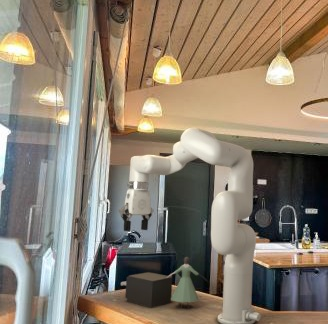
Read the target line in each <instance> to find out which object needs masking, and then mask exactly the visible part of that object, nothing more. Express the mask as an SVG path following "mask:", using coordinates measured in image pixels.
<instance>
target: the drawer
mask: <svg viewBox="0 0 328 324" xmlns="http://www.w3.org/2000/svg"><path fill="white" fill-rule="evenodd" d="M120 286H122V287H123V286H125V295H124V296H125V299H127V290H128V276H126V281H121V282H120Z"/></svg>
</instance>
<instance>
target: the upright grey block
mask: <svg viewBox="0 0 328 324" xmlns="http://www.w3.org/2000/svg"><path fill="white" fill-rule="evenodd" d="M168 276H169V275H164V274H159V273H154V272H149V271H148V272H143V273H135V274H130V275H128V276H127V277H128V290H127V298H126V302H128V303H131V304H136V305H140V306H143V307H147V308H151V309H152V308H156V307H158V306H159V307H160V306H162V305H166V304H170V303H172V300H171V297H172V294H173V293H172V289H173V276H169V277H168ZM167 277H168V278H167Z"/></svg>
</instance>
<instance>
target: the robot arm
mask: <svg viewBox="0 0 328 324" xmlns="http://www.w3.org/2000/svg"><path fill="white" fill-rule="evenodd" d="M179 139H180V140H179V141H177V142H175V143H174V144H173V146H172V154H171V155H168V156H162V155H154V154H145V155H134V156H133V155H132V157H131V158H130V162H129V163H130V164H129V175H128V176H129V179H128V183H127V184H126V186H127V187H128V189H127V190H126V194H125V199H124V205H123V206H122V207H121V208H119V209H118V212H119V215H120V217H121V219H122V221H123V231H124V232H131V225H132V221H131V218H132V217H133V216H141V218H142V219H141V223H140V224H141V225H140V230H142V231H148V229H149V228H148V227H149V221H150V219H151V218H152V216H153V213H154V212H155V211H154V208H153V207H152V206H151V205H152V203H151V202H152V201H151V200H152V199H151V192H150V190H149V179H150V175H157V176H158V175H159V176H168V175H171V174H174V173H176V172H178V171H181V170H183V168H184V167H185V166H186V164H187V163H189V162H192V161H194V160H197V159H200V160H202V161H204V162H205V163H207V164H209V165H212V166H218V167H224V168H230V169H231V170H230V171H229V174H228V177H227V190H223V191H220V192H219V193H217V194H216V196H215V197H214V199H213V201H212V204H211V211H210V212H211V215H210V241H211V246H212V248H213V251H215V253H217V254H218V255H220V256H225V260H224V268H223V288H222V311H221V313H219V314H218V315H217V317H216V318H217V322H218V323H220V324H254V323H255V322H259V321H260V319H261V313H260V312H256V311H255V306H252V297H253V296H252V294H253V274H254V273H253V272H254V271H253V270H254V258H255V257H254V256H255V249H256V245H257V235H256V232H255V230H254V229H253V228H252V226H250V225H248V224H246V223H238V220H244V219H248V218H249V217H250V216H251V215H252V213H253V209H254V208H253V207H254V204H253V203H254V180H253V179H254V160H253V156H252V154H251V153H250V151H249V150H248V149H246V148H244V147H243V146H240V145H238V144H235V143H232V142H228V141H223V140H219V139H217V137H216V136H215V135H214V133H212V132H210V131H209V130H205V129H201V128H198V127H189V128H187V129H186V130H184V131H183V132H182V134H181V135H180V138H179Z"/></svg>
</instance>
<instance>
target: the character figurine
mask: <svg viewBox="0 0 328 324" xmlns="http://www.w3.org/2000/svg"><path fill="white" fill-rule="evenodd" d="M190 260H191V259H190V258H189V257H188V256H185V257H184V259H183V263H184V264H181V266H179V267H178V268H177V269H176V270H174V272H172V273H170V274H169V275H167V276H168V277H169V276H170V277H173V275H177V274H179V273H180V272H181V277H180V279H179V280H178V284H177V285H176V287H175V289H174V291H173V293H172V294H171V302H172V301H173V302H177V303H178V306H177V307H178V309H182V307H183V305H182V303H186V309H190V308H191V303H192V302H193V303H194V302H197V301H199V300H200V298H199V295H198V293H197V291H196V288H195V286H194V282H193V280H192V278H191V273H192V274H194V275H195V276H197V277H201V278H202V280H204V281H206V282H207V283H208V284H210V281H209V280H208V279H207V278H206V277H205V276H204V275H202V274H200V273H199V272H198V271H196V270H195V269H194V268H193V266H191V264H189V263H190ZM168 277H167V278H168Z"/></svg>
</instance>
